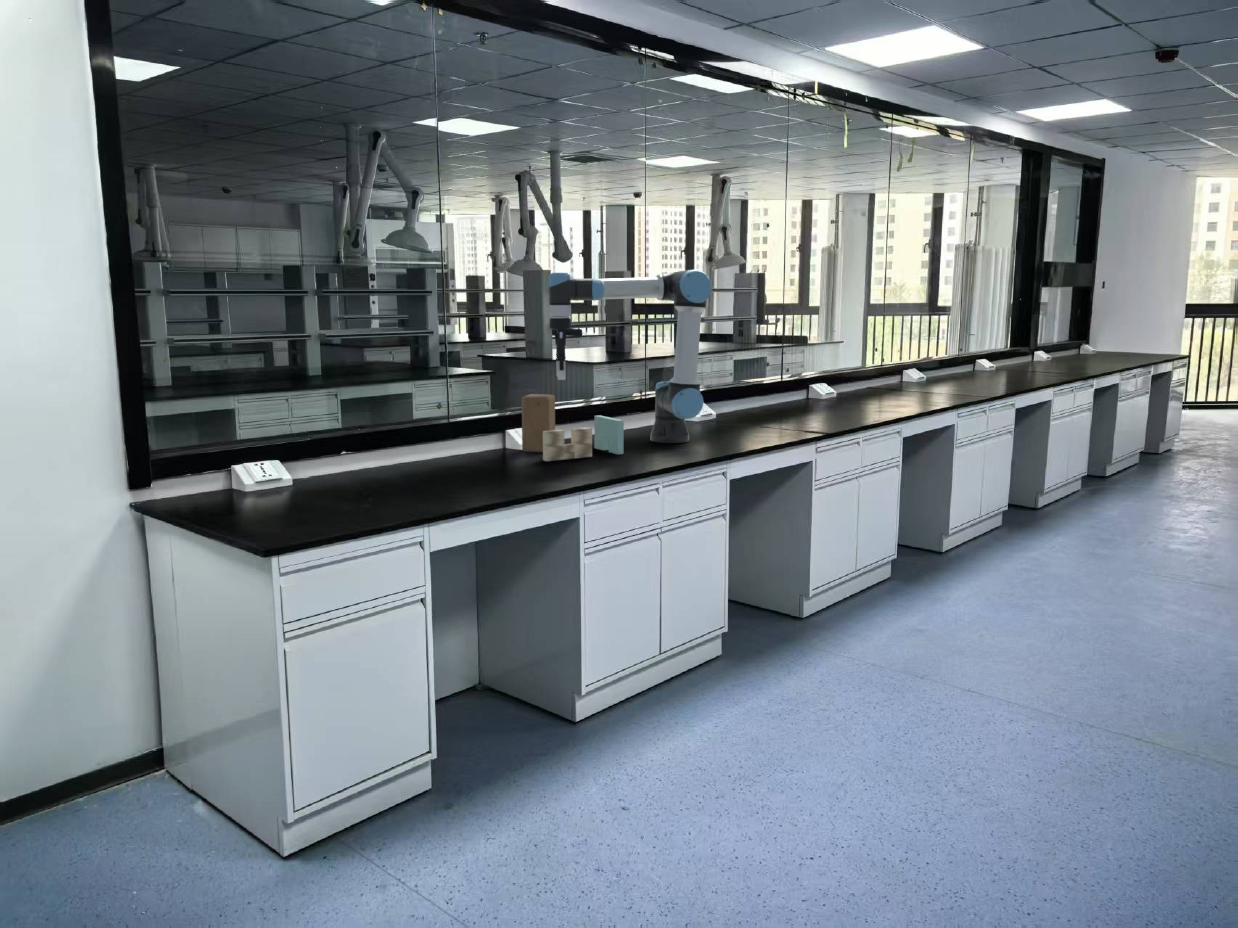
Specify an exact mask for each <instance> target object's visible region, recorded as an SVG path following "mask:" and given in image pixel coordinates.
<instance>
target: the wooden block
mask: <svg viewBox="0 0 1238 928" xmlns="http://www.w3.org/2000/svg"><path fill="white" fill-rule="evenodd" d="M550 430H556V396H555V395H554V394H543V393H542V394H541V393H540V394H539V393H530V394H527V395H524V396H522V397H521V436H522V437H521V439H522V441H521V447H522V451H523V452H524V453H542V454H543V431H550Z"/></svg>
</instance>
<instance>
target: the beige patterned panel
mask: <svg viewBox="0 0 1238 928" xmlns="http://www.w3.org/2000/svg"><path fill="white" fill-rule="evenodd" d="M570 436H571V437H570V441H571V442H570V443H565V430H564V429H555V430H550V431H543V453H542V461H544V462H551V461H562V460H572V459H582V458H592V457H593V428H592V427H576V428H571V429H570Z"/></svg>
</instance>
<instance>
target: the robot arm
mask: <svg viewBox="0 0 1238 928" xmlns="http://www.w3.org/2000/svg"><path fill="white" fill-rule="evenodd" d="M548 277H549V278H548V298H549V300H548V301H549V307H548V308H547V311H549V317H551V318H549V329H550V330H556V331H555V334H554V340H555V343H554V344H555V345H556V347H555V348H556V353H555V357H556V358H555V363H556V366H555V367H556V377H557V380H558V381H566V373H567V372H566V343H567V334H566V332H565V331H564V330H570V329H571V328H572V319H571V316H572V303H571V302H572V301H594V302H596V301H601V300H622V299H623V300H625V299H626V300H627V299H655V298H656V300H657V301H671V302H674V305H673V306H674V308H675V310H676V311H677V323H676V336H675V337H676V338H675V339H676V340H675V352H674V367H673V377H672V378H671V379H669V381H668V380H667V381H660V382H657V383H656V384H655V389H654V393H655V395H654V396H655V398H654V399H655V402H654V408H655V409H654V413H655V414H654V415H655V416H654V423H653V426H652V429H651V432H650V441H651V442H655V443H661V444H678V443H679V444H680V443H682V444H683V443H687V442H689V441H690V434H689V430H688V427H687V423H686V420H691V419H693V418H696V417H697V416H698V415H699V414H700V413H701V411H702V410H703V406H704V397H703V395H702V393H701V392H700V391H701V382H700V381H699V379H698V378H697V377H698V363H699V362H698V361H699V351H700V350H699V349H700V336H701V333H700V332H701V324H702V323H701V322H702V313H703V312H704V311H705V310H706V309H707V301H708V299H709V298H710V297H711V294H712V290H713V285H712V281H711V278H710V276H708V275H707V274H706V273H705V272H704V271H702V270H699V269H698V270H697V269H688V270H679V271H675V272H670V273H661V274H657V275H655V276H651V277H647V276H646V277H624V278H623V277H622V278H621V277H618V278H617V277H616V278H574V277H573V278H572V277H571V274H570V273H569V272H552V273H550V274H549V276H548Z"/></svg>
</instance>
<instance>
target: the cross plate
mask: <svg viewBox="0 0 1238 928" xmlns="http://www.w3.org/2000/svg"><path fill="white" fill-rule="evenodd" d="M624 426H625V422H624V419H619V418H613V417H609V416H604V415H601V414H599V415H594V449H596V450H600V451H608V453H612V454H614V455H624V434H625V433H624V428H625V427H624Z"/></svg>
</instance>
